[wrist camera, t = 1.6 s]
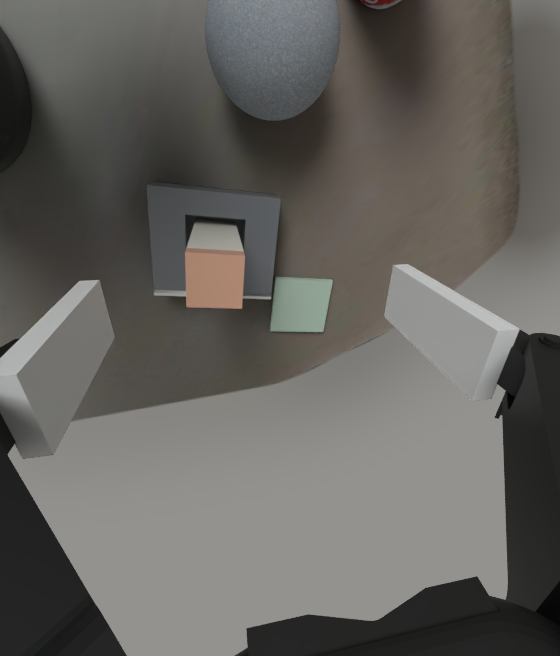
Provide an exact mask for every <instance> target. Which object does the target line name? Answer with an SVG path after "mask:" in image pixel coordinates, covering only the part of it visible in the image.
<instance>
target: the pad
mask: <svg viewBox="0 0 560 656" xmlns="http://www.w3.org/2000/svg"><path fill="white" fill-rule="evenodd" d="M332 283H333V281H332V280H331V279H315V278H294V277H275V283H274V293H273V302H272V312H271V321H270V331H285V332H323V331H324V325H325V320H326V315H327V309H328V304H329V299H330V293H331V288H332Z"/></svg>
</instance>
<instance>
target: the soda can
mask: <svg viewBox="0 0 560 656" xmlns="http://www.w3.org/2000/svg"><path fill="white" fill-rule="evenodd" d="M360 1H361V2H362V3H363V4H365V5H366V6H368V7H371V8H374V9H385V8H388V7H391V6H393V5H395V4H396V3H398V2H400V1H402V0H360Z"/></svg>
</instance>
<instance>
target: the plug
mask: <svg viewBox="0 0 560 656" xmlns="http://www.w3.org/2000/svg"><path fill="white" fill-rule="evenodd" d="M244 267H245V254H244V250H243V247H242V243H241V240H240V236H239V233H238V230H237V226H236V223H235V222H227V221H215V220H203V219H196V220H195V223H194V226H193V229H192V232H191V235H190V238H189V241H188V245H187V248H186V251H185V272H186V307H196V308H231V309H242V300H243V284H244Z"/></svg>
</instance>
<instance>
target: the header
mask: <svg viewBox="0 0 560 656" xmlns="http://www.w3.org/2000/svg"><path fill="white" fill-rule="evenodd" d="M146 187H147V202H148V216H149V230H150V244H151V259H152V273H153V287H154V295H159V296H186V272H185V251H186V248H187V245H188V241H189V238H190V235H191V232H192V229H193V226H194V223H195V220H196V219H203V220H215V221H227V222H235V223H236V226H237V230H238V233H239V236H240V240H241V243H242V247H243V250H244V254H245V267H244V284H243V298H245V299H271V292H272V282H273V272H274V262H275V253H276V243H277V233H278V223H279V213H280V203H281V198H280V197H278V196H276V195H275V194H268V193H258V192H248V191H238V190H228V189H218V188H209V187H199V186H189V185H179V184H169V183H159V182H153V183H150V184H148V185H146Z"/></svg>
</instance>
